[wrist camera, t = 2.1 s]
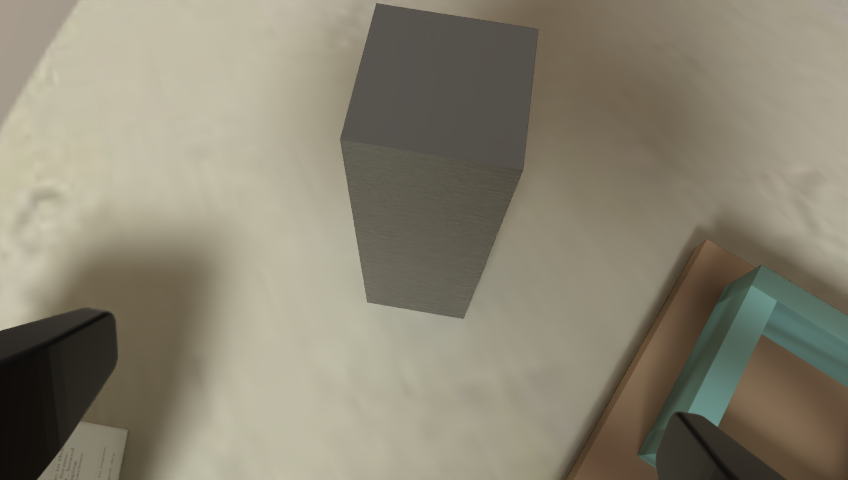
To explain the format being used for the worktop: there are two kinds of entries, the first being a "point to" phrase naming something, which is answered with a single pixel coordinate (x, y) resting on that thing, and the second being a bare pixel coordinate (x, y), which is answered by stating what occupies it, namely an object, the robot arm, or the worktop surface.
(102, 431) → the product box
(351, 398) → the worktop surface
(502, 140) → the square bit
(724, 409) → the bit holder
